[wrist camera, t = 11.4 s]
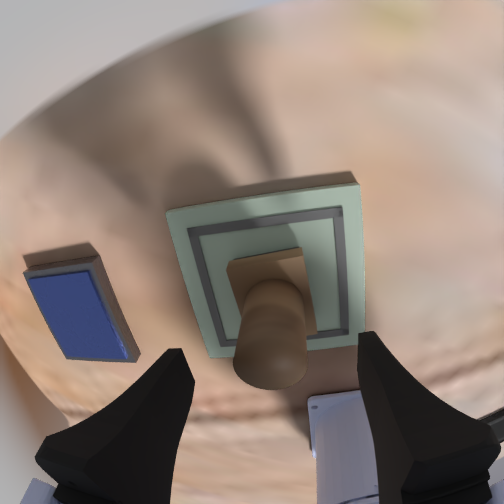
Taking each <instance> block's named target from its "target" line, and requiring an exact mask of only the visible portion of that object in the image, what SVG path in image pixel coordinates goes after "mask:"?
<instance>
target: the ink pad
mask: <svg viewBox="0 0 504 504" xmlns="http://www.w3.org/2000/svg"><path fill="white" fill-rule="evenodd" d="M23 274H24V277H25V279H26V281H27V284H28V286H29V288H30V290H31V292H32V295H33V297H34V299H35V301H36V303H37V305H38V307H39V309H40V311H41V313H42V315H43V317H44V319H45V321H46V323H47V325H48V327H49V329H50V331H51V333H52V334H53V336H54V338H55V340H56V342H57V343H58V345H59V347H60V349H61V350H62V352H63V354H64V356H65V357H66V359H71V360H86V361H103V362H130V363H136V362H137V360H138V358H139V356H140V354H141V353H140V351H139V349H138V347H137V345H136V342H135V340H134V338H133V336H132V334H131V332H130V329H129V327H128V325H127V323H126V320H125V318H124V316H123V313H122V311H121V309H120V306H119V304H118V302H117V299H116V297H115V294H114V292H113V289H112V287H111V284H110V282H109V279H108V277H107V274H106V271H105V269H104V266H103V263H102V261H101V258H100V255H99V256H92V257H86V258H80V259H74V260H67V261H61V262H55V263H49V264H43V265H37V266H31V267H29V268H28V269H27V270H26V271H24V272H23Z"/></svg>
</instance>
